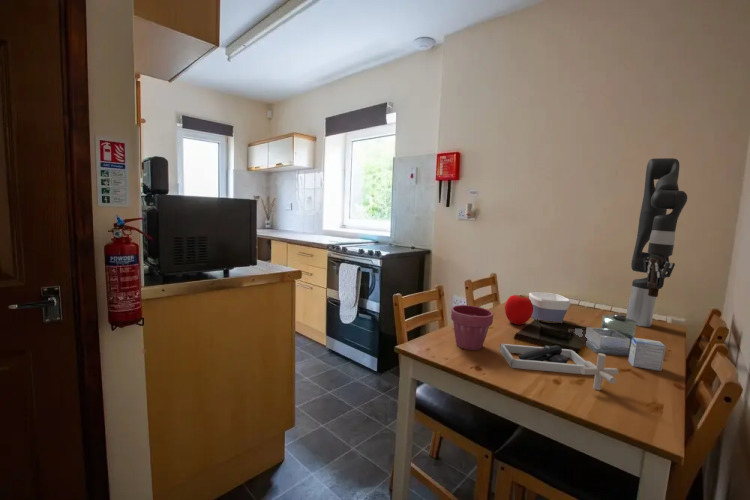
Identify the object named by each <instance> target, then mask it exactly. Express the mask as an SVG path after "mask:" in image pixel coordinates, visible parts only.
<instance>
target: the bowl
mask: <svg viewBox="0 0 750 500" xmlns="http://www.w3.org/2000/svg"><path fill="white" fill-rule="evenodd" d="M528 297H529V299H530V300H531V302H532V305H533V314H532V316H531V318H532V319H534V320H535V321H537V319H538V320H543V321H553V322H561V324H562V323H563V321H564V319H565V316H566V314H567V312H568V310H569V307H570V305H571V301H570V299H569V298H567V297H565V296H563V295H560V294H557V293H551V292H539V291H537V292H536V291H532V292H529V294H528Z"/></svg>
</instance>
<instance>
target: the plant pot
mask: <svg viewBox="0 0 750 500" xmlns="http://www.w3.org/2000/svg"><path fill="white" fill-rule="evenodd" d="M450 319H451V320H452V323H453V332H454V333H453V334H454V339H455V344H456V346H458V347H460V348H462V349H465V350H468V351H469V350H470V351H479V350H481V349H482V348H483V346H484V343H485V340H486V337H487V334H488V332H489V328H490V326H492V325H493V322H494V321H493V320H494V313H493V311H491V310H490V309H487V308H484V307H481V306H480V307H479V306H476V305H470V304H469V305H467V304H460V305H459V304H458V305H454V306H452V307H451V312H450Z"/></svg>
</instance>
